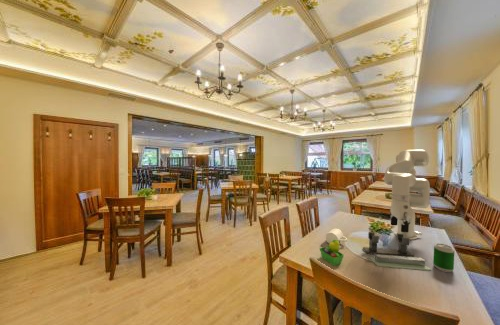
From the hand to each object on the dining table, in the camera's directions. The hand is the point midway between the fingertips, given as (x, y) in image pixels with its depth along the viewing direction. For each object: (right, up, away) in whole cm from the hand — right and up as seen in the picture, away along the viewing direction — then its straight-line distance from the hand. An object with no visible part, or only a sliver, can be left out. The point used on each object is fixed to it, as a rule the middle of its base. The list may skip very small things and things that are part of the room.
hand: (399, 228), depth 108 cm
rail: (-1, -18, -1) cm, 18 cm away
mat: (-1, -19, -1) cm, 19 cm away
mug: (-23, -18, +24) cm, 38 cm away
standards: (+1, -18, +11) cm, 21 cm away
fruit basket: (-36, -19, +2) cm, 41 cm away
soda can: (+19, -19, -5) cm, 27 cm away
